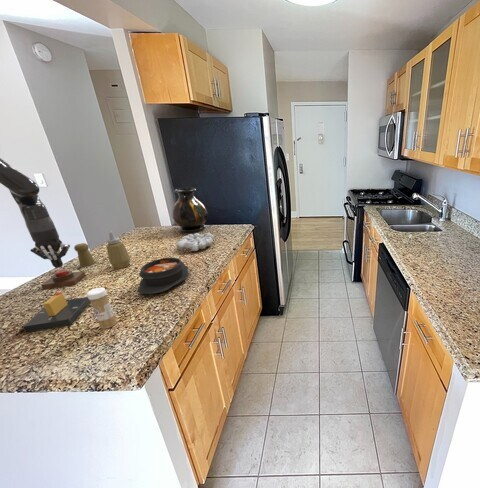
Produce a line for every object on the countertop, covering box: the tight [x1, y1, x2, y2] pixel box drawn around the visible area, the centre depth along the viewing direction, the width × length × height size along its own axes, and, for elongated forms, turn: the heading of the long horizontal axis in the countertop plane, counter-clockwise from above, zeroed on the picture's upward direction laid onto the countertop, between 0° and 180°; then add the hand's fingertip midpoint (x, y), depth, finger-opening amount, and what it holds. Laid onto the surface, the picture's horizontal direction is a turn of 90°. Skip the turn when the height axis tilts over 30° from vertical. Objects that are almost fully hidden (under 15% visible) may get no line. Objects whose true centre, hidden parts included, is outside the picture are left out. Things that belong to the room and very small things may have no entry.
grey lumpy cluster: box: [175, 232, 215, 252], centre depth 151 cm, size 22×21×6 cm
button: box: [54, 269, 68, 277], centre depth 112 cm, size 4×4×2 cm
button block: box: [40, 270, 86, 290], centre depth 113 cm, size 11×9×4 cm
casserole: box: [137, 257, 190, 295], centre depth 112 cm, size 25×19×8 cm
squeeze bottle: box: [106, 231, 131, 270], centre depth 124 cm, size 8×8×18 cm
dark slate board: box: [22, 296, 91, 334], centre depth 91 cm, size 12×14×3 cm
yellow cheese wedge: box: [42, 292, 68, 316], centre depth 90 cm, size 6×2×5 cm, turn 13°
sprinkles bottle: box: [86, 287, 118, 330], centre depth 85 cm, size 5×5×14 cm
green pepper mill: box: [73, 242, 97, 268], centre depth 128 cm, size 6×6×11 cm
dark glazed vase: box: [171, 187, 209, 234], centre depth 175 cm, size 22×22×28 cm
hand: (59, 266), depth 111 cm, fingers closed
